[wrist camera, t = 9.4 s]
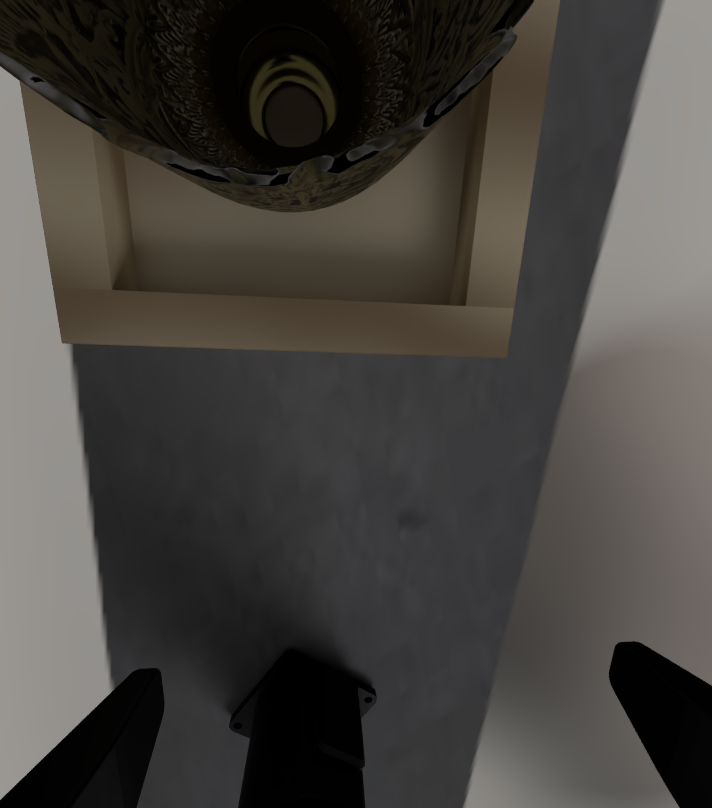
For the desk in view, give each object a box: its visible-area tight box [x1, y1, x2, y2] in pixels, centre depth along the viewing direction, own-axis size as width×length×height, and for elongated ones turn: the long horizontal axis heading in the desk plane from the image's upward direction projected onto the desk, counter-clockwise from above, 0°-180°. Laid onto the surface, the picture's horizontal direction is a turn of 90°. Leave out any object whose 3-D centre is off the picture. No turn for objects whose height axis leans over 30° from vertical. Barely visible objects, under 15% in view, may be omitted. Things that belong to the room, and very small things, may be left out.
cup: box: [0, 0, 534, 213], centre depth 7 cm, size 8×7×8 cm
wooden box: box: [20, 0, 560, 358], centre depth 12 cm, size 13×13×6 cm
